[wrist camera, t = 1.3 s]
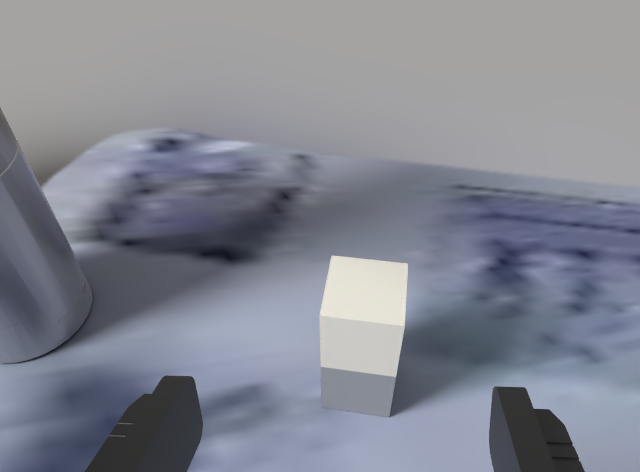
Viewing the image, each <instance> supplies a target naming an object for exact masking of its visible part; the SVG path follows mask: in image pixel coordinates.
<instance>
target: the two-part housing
mask: <svg viewBox="0 0 640 472" xmlns="http://www.w3.org/2000/svg"><path fill="white" fill-rule="evenodd" d="M407 274H408V264H406V263H397V262H388V261H378V260H369V259H360V258H350V257H341V256H332V257H331V262H330V267H329V272H328V276H327V281H326V286H325V291H324V296H323V301H322V306H321V311H320V357H321V398H322V408H328V409H335V410H342V411H349V412H356V413H363V414H370V415H376V416H383V417H389V416H390V410H391V405H392V399H393V393H394V387H395V381H396V375H397V369H398V363H399V357H400V351H401V346H402V340H403V334H404V328H405V312H406V293H407Z"/></svg>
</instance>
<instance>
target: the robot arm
mask: <svg viewBox="0 0 640 472" xmlns="http://www.w3.org/2000/svg"><path fill="white" fill-rule="evenodd" d="M92 301H93V298H92V290H91V288H90V285H89V283H88V281H87V279H86V277H85V275H84V273H83V271H82V269H81V267H80V265H79V263H78V261H77V259H76V257H75V255H74V253H73V251H72V249H71V247H70V245H69V243H68V241H67V239H66V237H65V235H64V233H63V231H62V229H61V227H60V225H59V223H58V221H57V219H56V217H55V215H54V213H53V211H52V209H51V207H50V205H49V203H48V201H47V199H46V197H45V195H44V193H43V191H42V189H41V187H40V185H39V183H38V181H37V179H36V177H35V175H34V173H33V171H32V169H31V167H30V165H29V163H28V161H27V159H26V157H25V155H24V153H23V151H22V150H21V147H20V145H19V143H18V141H17V140H16V138H15V136H14V134H13V132H12V130H11V128H10V126H9V124H8V122H7V120H6V118H5V116H4V114H3V112H2V110H1V108H0V363H16V362H21V361H26V360H30V359H33V358H35V357H38V356H41V355H43V354H45V353H47V352H49V351H51V350H53V349H55V348H57V347H58V346H59V345H61V344H62V343H64V342H65V341H66V340H68V339H69V338H70V337H71V336H72V335H73V334H74V333H75V332H76V331H77V330H78V329H79V328H80V327H81V325H82V324H83V323H84V321H85V320H86V318H87V316H88V314H89V312H90V310H91V305H92ZM202 428H203V422H202V415H201V410H200V405H199V400H198V395H197V390H196V385H195V381H194V379H193V377H191V376H164V377H163V378H162V379H161V381H160V382H159V384H158V385H157V387H156V388H155V390H154V392H153V393H152V394H144V395H142V396H141V397H140V398H139V399H138V400H136V401H135V402H134V403H133V404H131V405H130V406H129V407H128V408H127V410H126V411H125V413H124V414H123V416H122V417H121V419H120V420H119V423H118V425H116V426H115V428H114V429H113V431H112V432H111V434H110V437H108V438H107V439H106V441H105V442H104V444H103V445H102V447H101V448H100V450H99V451H98V453H97V454H96V456H95V457H94V459H93V460H92V462H91V463H90V465H89V466H88V468H87V469H86V471H85V472H187V470H188V467H189V465H190V463H191V461H192V459H193V456H194V454H195V452H196V450H197V447H198V445H199V443H200V440H201V436H202ZM489 445H490V454H491V460H492V464H493V469H494V472H585V471H584V469H583V467H582V464H581V462H579V457H578V455H577V453H576V451H575V448H574V447H573V446H572V441H571V439H570V437H569V434H568V432H567V430H566V427H565V425H564V424H563V423H562V422H561V421H560V420H559V419H558V418H557V417H556V416H555V415H554V414H553V413H552V412H551V411H550V410H549V409H533V406H532V403H531V400H530V398H529V395H528V392H527V390H526V388H524V387H494V388H493V394H492V406H491V418H490V430H489Z"/></svg>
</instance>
